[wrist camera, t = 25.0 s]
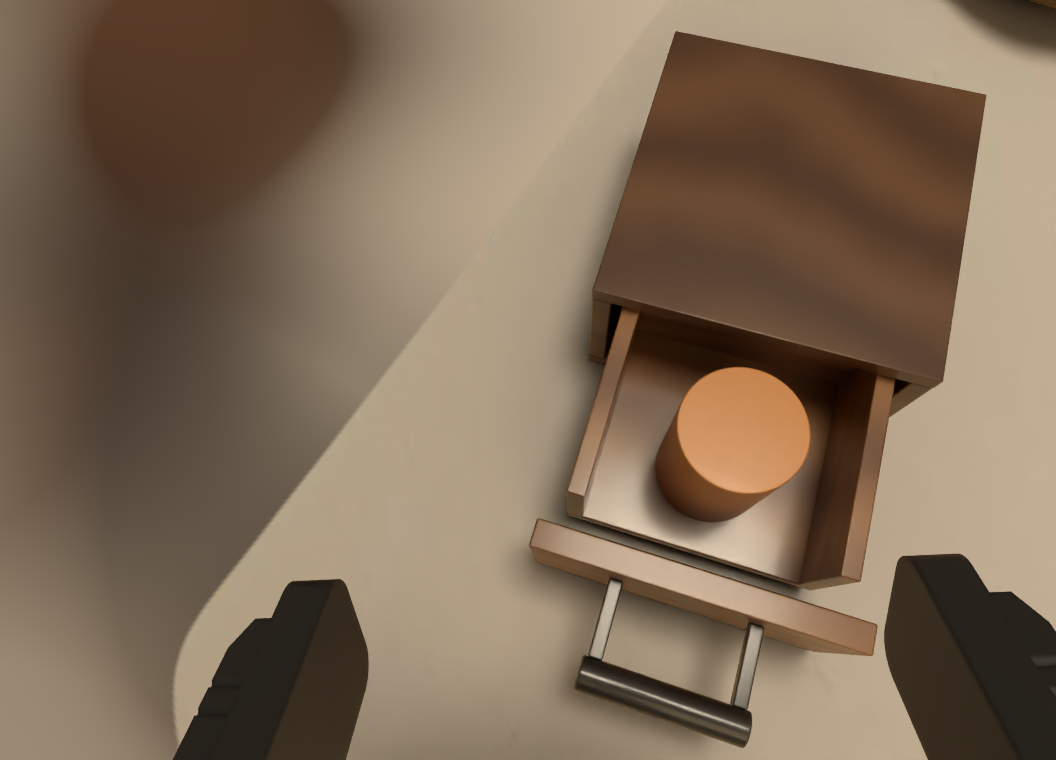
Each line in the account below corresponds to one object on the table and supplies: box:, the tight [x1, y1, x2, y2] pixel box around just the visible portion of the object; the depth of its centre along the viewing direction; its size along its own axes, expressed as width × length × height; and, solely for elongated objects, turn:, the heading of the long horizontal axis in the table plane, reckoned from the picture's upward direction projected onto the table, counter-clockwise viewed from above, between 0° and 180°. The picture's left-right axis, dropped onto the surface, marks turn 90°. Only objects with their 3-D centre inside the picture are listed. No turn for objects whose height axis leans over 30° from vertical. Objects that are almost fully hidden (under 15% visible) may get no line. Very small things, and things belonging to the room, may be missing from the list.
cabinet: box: [588, 31, 986, 417], centre depth 37 cm, size 15×15×9 cm
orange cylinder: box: [656, 367, 811, 522], centre depth 32 cm, size 5×5×8 cm
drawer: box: [529, 307, 895, 748], centre depth 33 cm, size 18×14×7 cm
